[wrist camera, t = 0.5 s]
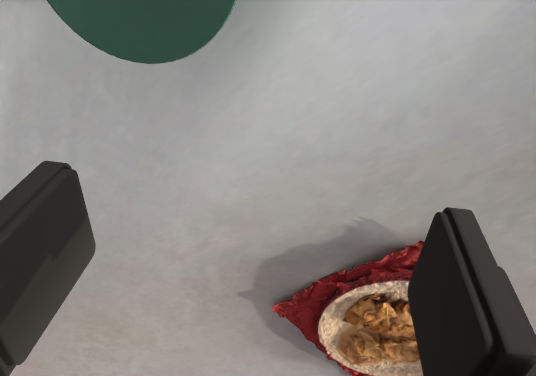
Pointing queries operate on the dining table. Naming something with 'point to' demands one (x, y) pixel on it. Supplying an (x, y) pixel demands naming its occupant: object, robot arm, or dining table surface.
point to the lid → (145, 26)
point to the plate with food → (362, 316)
